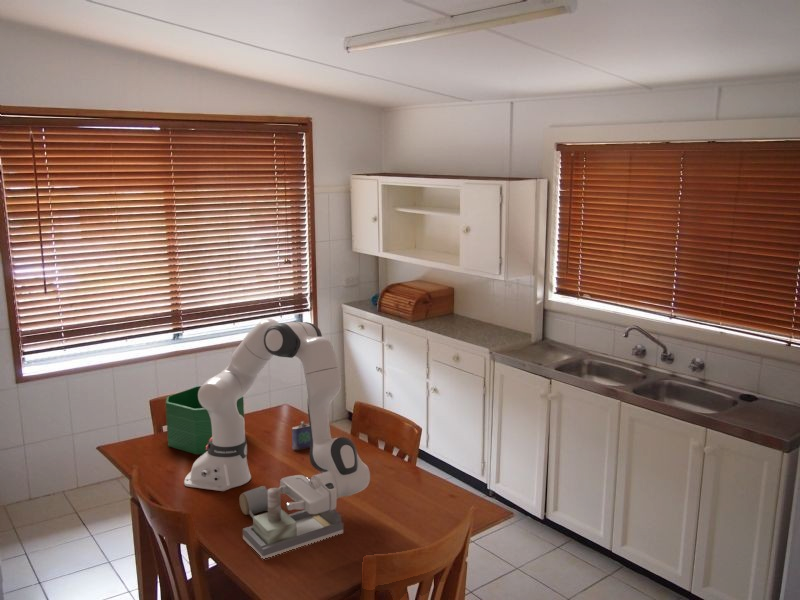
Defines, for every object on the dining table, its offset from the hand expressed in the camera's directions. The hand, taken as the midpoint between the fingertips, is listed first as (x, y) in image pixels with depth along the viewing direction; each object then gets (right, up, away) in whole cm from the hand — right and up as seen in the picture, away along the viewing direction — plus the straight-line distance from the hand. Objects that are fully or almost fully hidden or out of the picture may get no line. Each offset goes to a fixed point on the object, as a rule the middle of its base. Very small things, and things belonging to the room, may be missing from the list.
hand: (279, 500), depth 203 cm
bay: (+3, -12, +5) cm, 13 cm away
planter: (-43, +2, +77) cm, 88 cm away
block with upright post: (-2, -11, +1) cm, 11 cm away
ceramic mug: (-10, -9, +18) cm, 23 cm away
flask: (-3, 0, +70) cm, 70 cm away
